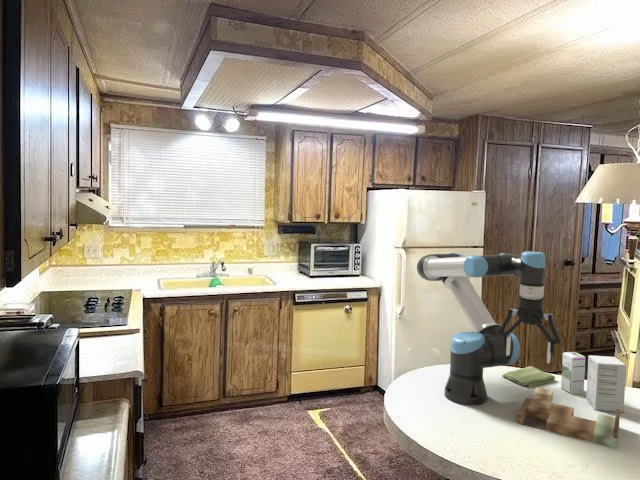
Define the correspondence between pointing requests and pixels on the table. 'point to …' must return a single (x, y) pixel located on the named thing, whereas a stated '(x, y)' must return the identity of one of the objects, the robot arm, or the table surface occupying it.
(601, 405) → the supplement box
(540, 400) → the maple block
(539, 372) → the washcloth
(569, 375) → the syrup box
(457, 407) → the table surface
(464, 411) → the table surface
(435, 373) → the table surface
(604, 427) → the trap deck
